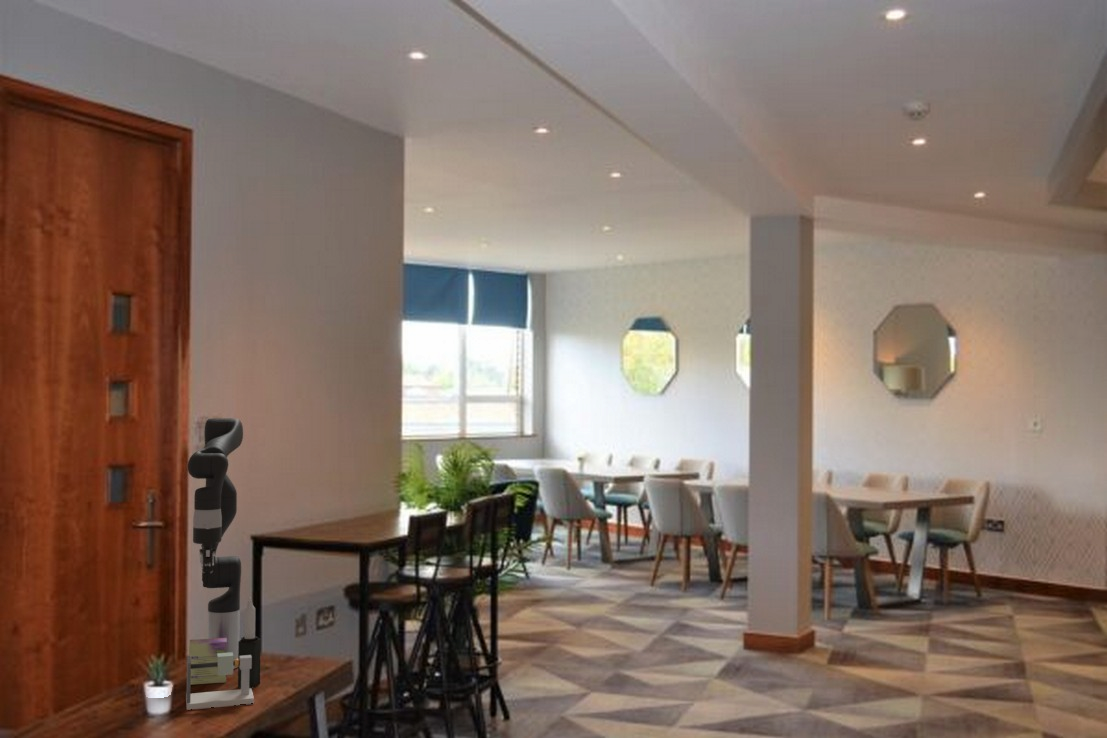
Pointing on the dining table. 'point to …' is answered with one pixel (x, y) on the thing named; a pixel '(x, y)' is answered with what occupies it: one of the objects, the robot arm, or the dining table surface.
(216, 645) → the box
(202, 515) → the robot arm
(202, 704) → the cord rack
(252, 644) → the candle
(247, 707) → the dining table surface
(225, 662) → the sleeve
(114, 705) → the dining table surface
